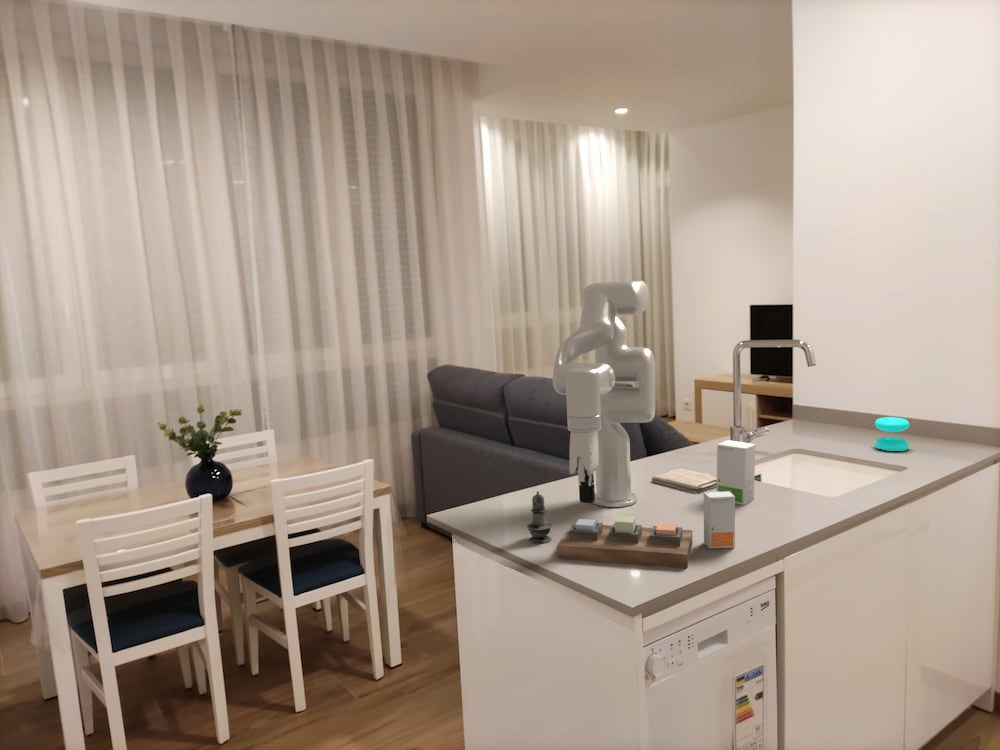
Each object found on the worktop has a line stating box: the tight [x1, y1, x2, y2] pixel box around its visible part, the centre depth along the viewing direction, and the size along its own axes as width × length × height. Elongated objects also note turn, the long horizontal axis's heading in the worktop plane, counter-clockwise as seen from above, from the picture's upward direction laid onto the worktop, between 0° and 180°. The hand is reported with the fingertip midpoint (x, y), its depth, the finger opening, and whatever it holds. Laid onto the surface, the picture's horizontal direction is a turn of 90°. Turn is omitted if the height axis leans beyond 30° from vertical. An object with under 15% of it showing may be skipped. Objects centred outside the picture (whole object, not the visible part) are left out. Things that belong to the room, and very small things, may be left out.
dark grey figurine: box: [526, 491, 552, 545], centre depth 174 cm, size 6×6×12 cm
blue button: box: [575, 518, 597, 531], centre depth 167 cm, size 4×4×3 cm
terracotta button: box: [656, 522, 677, 536], centre depth 161 cm, size 4×4×3 cm
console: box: [556, 520, 693, 569], centre depth 165 cm, size 15×28×5 cm, turn 71°
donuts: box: [874, 416, 910, 452], centre depth 241 cm, size 10×10×10 cm
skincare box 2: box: [716, 439, 756, 506], centre depth 196 cm, size 8×7×16 cm
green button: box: [614, 515, 637, 533], centre depth 164 cm, size 4×4×3 cm
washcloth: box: [651, 467, 717, 494], centre depth 214 cm, size 12×18×3 cm, turn 37°
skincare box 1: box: [703, 491, 736, 550], centre depth 164 cm, size 6×4×12 cm
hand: (587, 501), depth 166 cm, fingers closed
